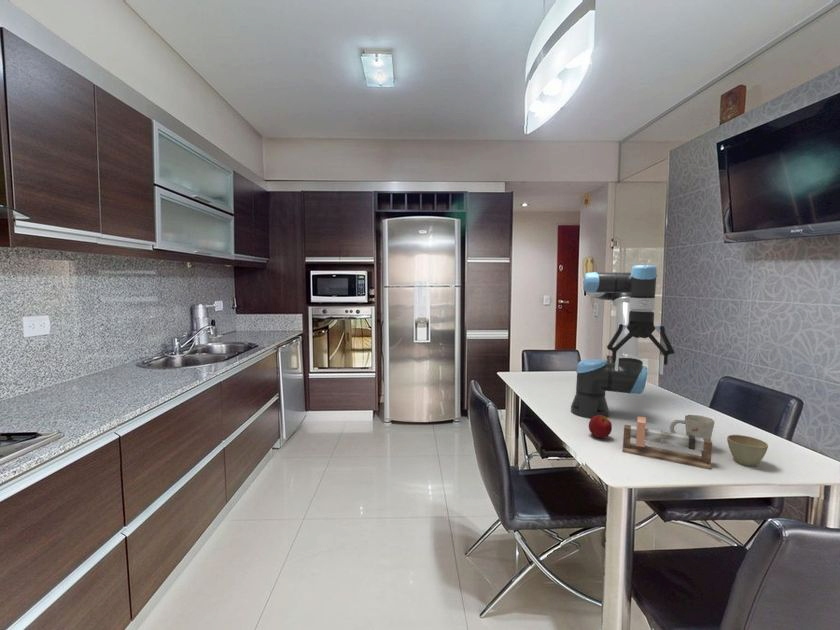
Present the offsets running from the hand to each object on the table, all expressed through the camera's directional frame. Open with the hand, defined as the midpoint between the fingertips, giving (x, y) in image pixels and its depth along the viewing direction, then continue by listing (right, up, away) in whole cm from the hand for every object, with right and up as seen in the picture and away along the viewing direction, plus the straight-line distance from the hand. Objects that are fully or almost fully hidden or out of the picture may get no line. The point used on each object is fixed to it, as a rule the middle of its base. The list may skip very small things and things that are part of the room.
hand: (638, 372), depth 138 cm
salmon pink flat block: (-2, -23, -5) cm, 24 cm away
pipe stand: (+4, -26, -8) cm, 28 cm away
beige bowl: (+27, -27, -12) cm, 40 cm away
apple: (-10, -25, +7) cm, 28 cm away
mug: (+19, -26, +1) cm, 32 cm away
